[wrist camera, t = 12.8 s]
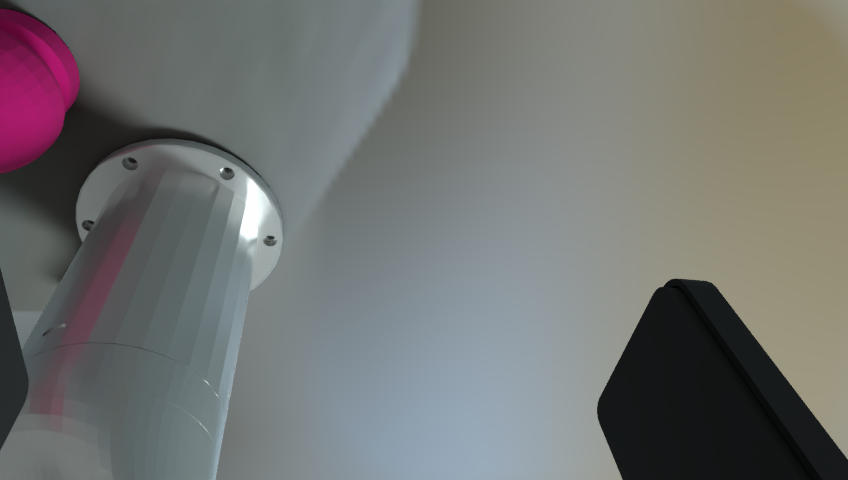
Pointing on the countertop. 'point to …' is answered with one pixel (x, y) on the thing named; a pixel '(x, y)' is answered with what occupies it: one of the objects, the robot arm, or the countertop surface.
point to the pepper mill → (32, 88)
